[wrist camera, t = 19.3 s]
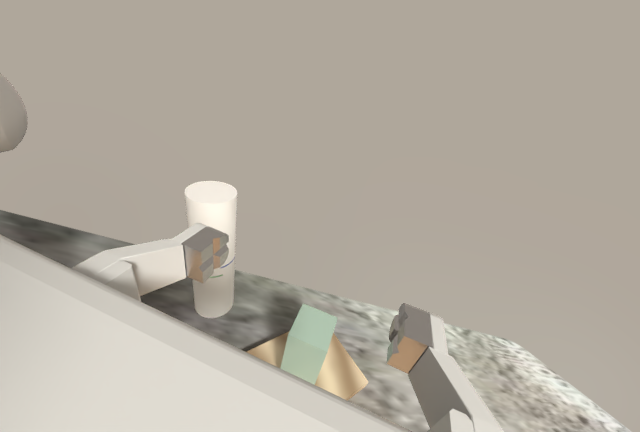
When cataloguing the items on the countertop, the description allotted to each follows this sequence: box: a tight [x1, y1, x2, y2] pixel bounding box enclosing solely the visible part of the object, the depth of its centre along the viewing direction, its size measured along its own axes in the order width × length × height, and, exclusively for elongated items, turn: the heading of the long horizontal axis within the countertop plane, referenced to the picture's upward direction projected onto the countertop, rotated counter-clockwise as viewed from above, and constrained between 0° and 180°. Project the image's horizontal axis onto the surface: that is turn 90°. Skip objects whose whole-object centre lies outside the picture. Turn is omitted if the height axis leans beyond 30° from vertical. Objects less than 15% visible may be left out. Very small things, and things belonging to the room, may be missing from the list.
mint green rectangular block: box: [280, 304, 337, 385], centre depth 37 cm, size 6×6×12 cm
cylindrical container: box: [185, 181, 237, 318], centre depth 43 cm, size 7×7×25 cm
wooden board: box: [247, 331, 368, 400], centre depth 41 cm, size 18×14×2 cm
